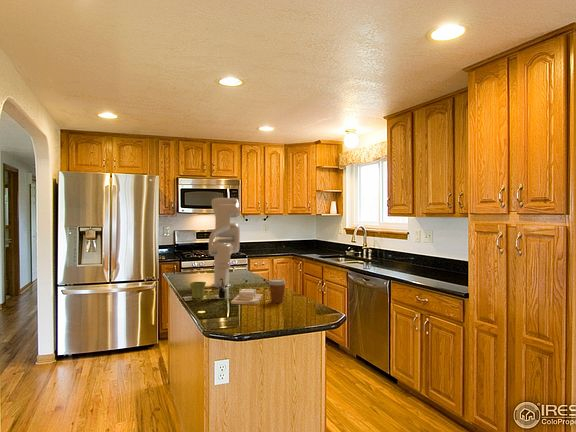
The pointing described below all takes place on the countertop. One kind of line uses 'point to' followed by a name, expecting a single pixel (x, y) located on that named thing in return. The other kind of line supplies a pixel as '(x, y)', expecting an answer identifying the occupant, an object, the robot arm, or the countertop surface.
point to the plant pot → (197, 289)
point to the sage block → (225, 293)
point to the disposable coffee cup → (277, 290)
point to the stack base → (248, 301)
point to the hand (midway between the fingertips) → (223, 296)
